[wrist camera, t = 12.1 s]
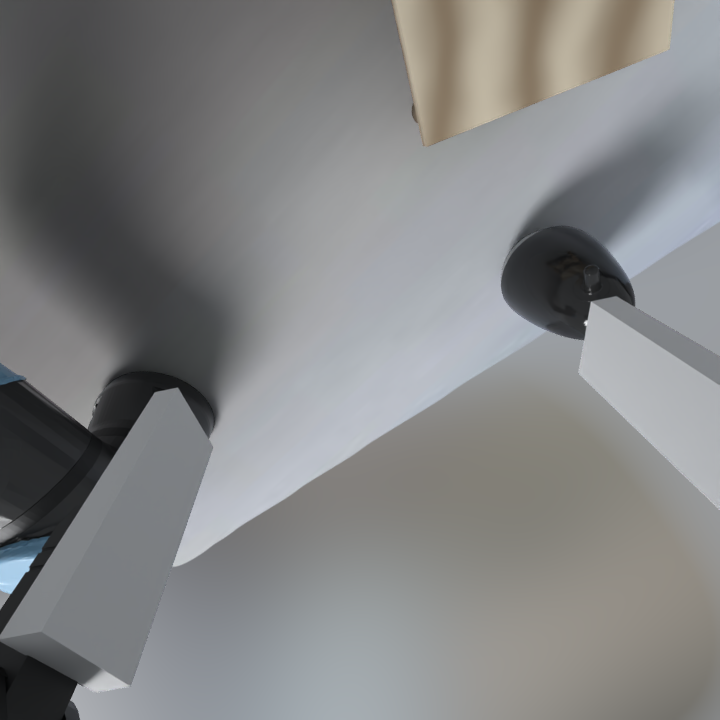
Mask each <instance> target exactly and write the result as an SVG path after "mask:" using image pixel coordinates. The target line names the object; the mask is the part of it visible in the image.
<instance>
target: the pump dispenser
mask: <svg viewBox="0 0 720 720" xmlns="http://www.w3.org/2000/svg"><path fill="white" fill-rule="evenodd" d="M501 290H502V294H503V297H504V299H505V301H506V303H507V304H508V305H509V307H510V308H511V309H512V310H513V311H515V312H516V313H517V314H518V315H520V316H521V317H523V318H524V319H526V320H527V321H529V322H531V323H532V324H534V325H536V326H538V327H540V328H542V329H545V330H547V331H549V332H552V333H555V334H558V335H561V336H564V337H568V338H573V339H578V340H584V338H585V333H586V327H587V321H588V316H589V310H590V304H591V301H596V300H600V299H605V298H610V297H615V296H617V297H618V298H620V299H622V300H624V301H625V302H627V303H629V304H630V305H632V306H634V307H635V296H634V291H633V288H632V285H631V283H630V280H629V278H628V277H627V275H626V273H625V272H624V270H623V269H622V267H621V266H620V264H619V263H618V262H617V260H616V259H615V258H614V257H613V255H612V254H611V253H610V252H609V251H608V250H607V249H606V248H605V247H604V246H603V245H602V244H601V243H599V242H598V241H597V240H596V239H595V238H593V237H592V236H591V235H589V234H588V233H586V232H584V231H582V230H580V229H577V228H574V227H570V226H555V227H550V228H547V229H543V230H539V231H537V232H534V233H532V234H530V235H528V236H526V237H525V238H523V239H522V240H521V241H519V242H518V243H517V244H516V245H515V246H514V247H513V249H512V250H511V251H510V253H509V254H508V256H507V257H506V260H505V262H504V264H503V268H502V273H501Z"/></svg>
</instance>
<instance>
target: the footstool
mask: <svg viewBox="0 0 720 720" xmlns="http://www.w3.org/2000/svg"><path fill="white" fill-rule="evenodd" d="M391 1H392V6H393V10H394V15H395V19H396V24H397V29H398V33H399V38H400V42H401V47H402V51H403V56H404V61H405V65H406V70H407V74H408V79H409V84H410V88H411V93H412V97H413V102H414V103H413V106H412V116H413V118H414V120H415V121H416V122H417V123H418V125H419V130H420V134H421V139H422V143H423V146H426V147H428V146H430V145H433V144H435V143H438V142H440V141H443V140H445V139H448V138H450V137H452V136H455V135H457V134H460V133H462V132H465V131H467V130H470V129H472V128H475V127H477V126H480V125H482V124H485V123H487V122H490V121H492V120H495V119H497V118H500V117H502V116H505V115H507V114H510V113H512V112H515V111H517V110H520V109H522V108H525V107H527V106H530V105H532V104H535V103H537V102H540V101H542V100H545V99H547V98H550V97H552V96H555V95H557V94H560V93H562V92H565V91H567V90H570V89H572V88H575V87H577V86H580V85H582V84H585V83H587V82H590V81H592V80H595V79H597V78H600V77H602V76H605V75H607V74H610V73H612V72H615V71H617V70H620V69H622V68H625V67H627V66H630V65H632V64H634V63H637V62H639V61H642V60H644V59H647V58H649V57H652V56H654V55H657V54H659V53H662V52H664V51H667V50H669V49H670V39H671V30H672V20H673V10H674V0H391Z"/></svg>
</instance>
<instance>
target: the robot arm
mask: <svg viewBox="0 0 720 720" xmlns="http://www.w3.org/2000/svg"><path fill="white" fill-rule="evenodd" d="M578 374H580V375H581V376H582V377H583V378H584V379H585V380H586V381H587V382H588V383H589V384H590V385H591V386H592V387H593V388H594V389H595V390H596V391H597V392H598V393H599V394H600V395H601V396H602V397H603V398H604V399H605V400H606V401H607V402H608V403H610V404H611V405H612V406H613V407H614V408H615V409H616V410H617V411H618V412H619V413H620V414H621V415H622V416H623V417H624V418H625V419H626V420H627V421H628V422H629V423H630V424H631V425H632V426H633V427H634V428H635V429H636V430H637V431H638V432H640V434H642V435H643V436H644V437H645V438H646V439H647V440H648V441H649V442H650V443H651V444H652V445H653V446H654V447H655V448H656V449H657V450H658V451H659V452H660V453H661V454H662V455H663V456H664V457H666V459H667V460H668V461H669V462H670V463H672V465H673V466H675V467H676V468H677V469H678V470H679V471H680V472H681V473H682V474H683V475H684V476H685V477H686V478H687V479H688V480H689V481H690V482H691V483H692V484H693V485H694V486H695V487H696V488H697V489H698V490H699V491H700V492H701V493H702V494H703V495H704V496H706V497H707V498H708V499H709V500H710V501H711V502H712V503H713V504H714V505H715V506H716V507H717V508H718V509H719V510H720V356H718V355H717V354H715V353H713V352H712V351H710V350H708V349H706V348H704V347H703V346H701V345H699V344H698V343H696V342H694V341H693V340H691V339H689V338H687V337H686V336H684V335H682V334H680V333H679V332H677V331H675V330H674V329H672V328H670V327H668V326H667V325H665V324H663V323H661V322H660V321H658V320H656V319H655V318H653V317H651V316H649V315H648V314H646V313H644V312H643V311H641V310H639V309H637V308H636V307H634V306H632V305H630V304H629V303H627V302H625V301H624V300H622V299H620V298H618V297H617V296H615V297H610V298H605V299H600V300H596V301H591V304H590V310H589V316H588V321H587V327H586V333H585V338H584V344H583V351H582V356H581V361H580V367H579V373H578ZM92 415H93V418H92V420H91V421H90V424H89V427H88V430H87V429H86V428H85V427H84V426H82V425H81V424H80V423H79V422H77V421H76V420H75V419H74V418H72V417H71V416H70V415H69V414H67V413H66V412H65V411H63V410H62V409H61V408H60V407H58V406H57V405H56V404H55V403H53V402H52V401H51V400H50V399H48V398H47V397H46V396H45V395H43V394H42V393H41V392H40V391H38V390H37V389H36V388H35V387H33V386H32V385H31V384H29V383H28V382H27V381H26V378H25V377H24V376H21V375H17V374H15V373H14V372H12V371H11V370H10V369H8V368H7V367H5V366H4V365H2V364H1V363H0V590H1V591H3V592H6V593H9V594H11V595H10V596H9V598H8V599H7V601H6V602H5V604H4V605H3V607H2V608H1V610H0V720H80V718H79V713H78V710H77V708H76V706H75V704H74V703H73V702H72V701H70V699H71V697H72V695H73V693H74V690H75V688H76V686H77V683H78V684H80V685H81V686H84V687H85V688H87V689H89V690H91V691H93V692H95V693H97V692H102V691H108V690H113V689H119V688H125V687H130V686H131V684H132V681H133V678H134V676H135V672H136V670H137V667H138V664H139V661H140V658H141V655H142V652H143V649H144V646H145V644H146V641H147V638H148V635H149V632H150V629H151V626H152V623H153V620H154V617H155V614H156V612H157V609H158V606H159V603H160V600H161V597H162V594H163V591H164V588H165V586H166V582H167V580H168V577H169V574H170V571H171V568H172V565H173V563H174V560H175V557H176V554H177V551H178V548H179V545H180V542H181V539H182V536H183V534H184V531H185V528H186V525H187V522H188V519H189V516H190V513H191V510H192V508H193V505H194V502H195V499H196V496H197V493H198V490H199V487H200V484H201V481H202V479H203V476H204V473H205V470H206V467H207V464H208V461H209V458H210V455H211V452H212V450H213V446H212V444H211V442H210V441H209V438H210V435H211V433H212V430H213V427H214V415H213V412H212V409H211V407H210V405H209V403H208V402H207V401H206V399H205V398H204V397H203V396H202V395H201V394H200V393H199V392H198V391H197V390H196V389H194V388H193V387H191V386H190V385H188V384H187V383H185V382H183V381H181V380H179V379H176V378H174V377H171V376H168V375H164V374H160V373H153V372H136V373H130V374H126V375H123V376H120V377H118V378H116V379H115V380H113V381H112V382H111V383H110V384H109V385H108V386H107V387H106V388H105V389H104V390H103V392H102V393H101V394H100V395H99V396H98V398H97V400H96V402H95V404H94V408H93V414H92Z"/></svg>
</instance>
